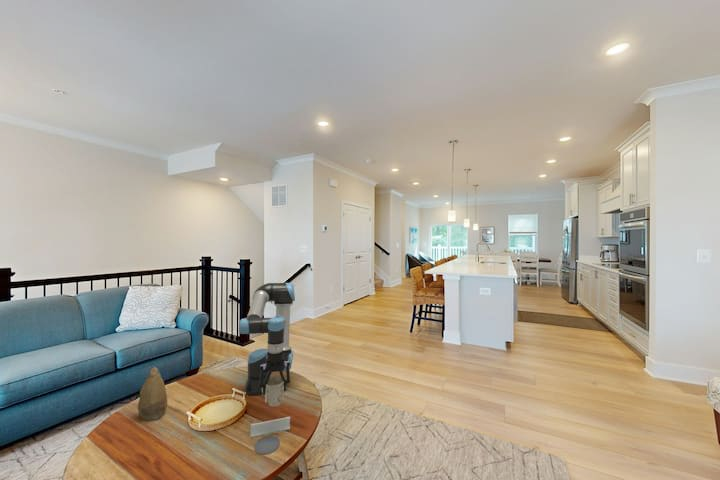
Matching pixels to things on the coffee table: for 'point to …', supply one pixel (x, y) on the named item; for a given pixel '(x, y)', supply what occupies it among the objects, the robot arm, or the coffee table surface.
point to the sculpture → (153, 396)
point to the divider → (270, 426)
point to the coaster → (267, 445)
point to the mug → (274, 391)
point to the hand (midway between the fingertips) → (274, 399)
